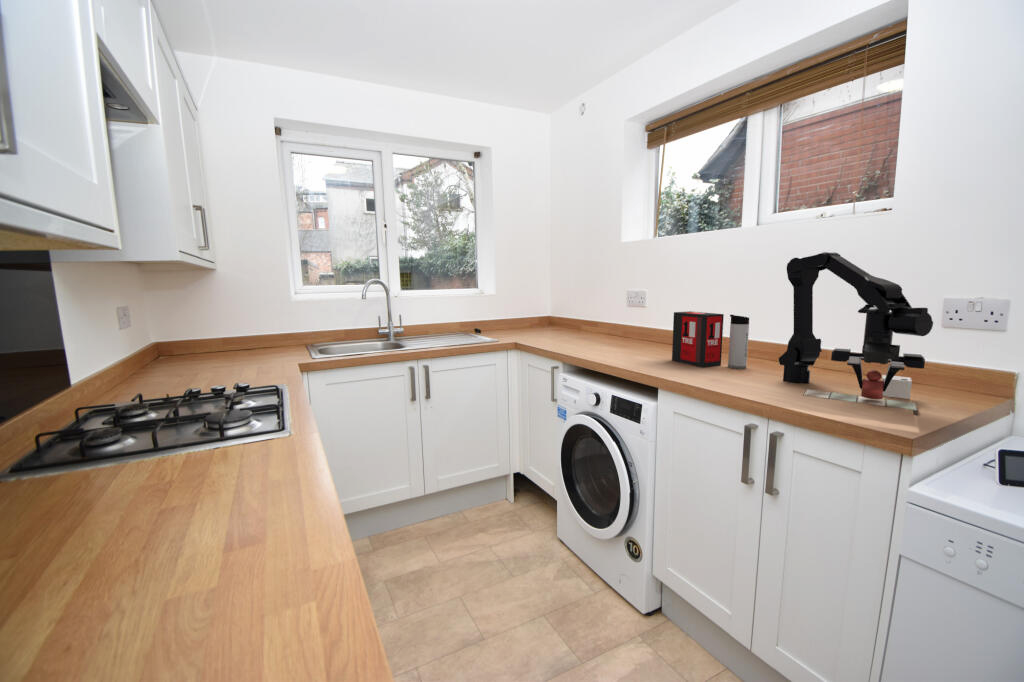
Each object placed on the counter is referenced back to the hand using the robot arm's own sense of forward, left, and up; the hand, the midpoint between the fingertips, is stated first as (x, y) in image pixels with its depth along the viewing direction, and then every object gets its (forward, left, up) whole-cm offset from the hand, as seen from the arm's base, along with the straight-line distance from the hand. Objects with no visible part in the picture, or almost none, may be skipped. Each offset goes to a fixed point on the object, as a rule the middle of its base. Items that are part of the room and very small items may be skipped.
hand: (872, 389), depth 118 cm
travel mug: (-40, +32, -4) cm, 51 cm away
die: (+5, +11, -4) cm, 13 cm away
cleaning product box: (-55, +32, -4) cm, 64 cm away
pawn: (0, 0, -2) cm, 2 cm away
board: (-3, 0, -4) cm, 5 cm away
